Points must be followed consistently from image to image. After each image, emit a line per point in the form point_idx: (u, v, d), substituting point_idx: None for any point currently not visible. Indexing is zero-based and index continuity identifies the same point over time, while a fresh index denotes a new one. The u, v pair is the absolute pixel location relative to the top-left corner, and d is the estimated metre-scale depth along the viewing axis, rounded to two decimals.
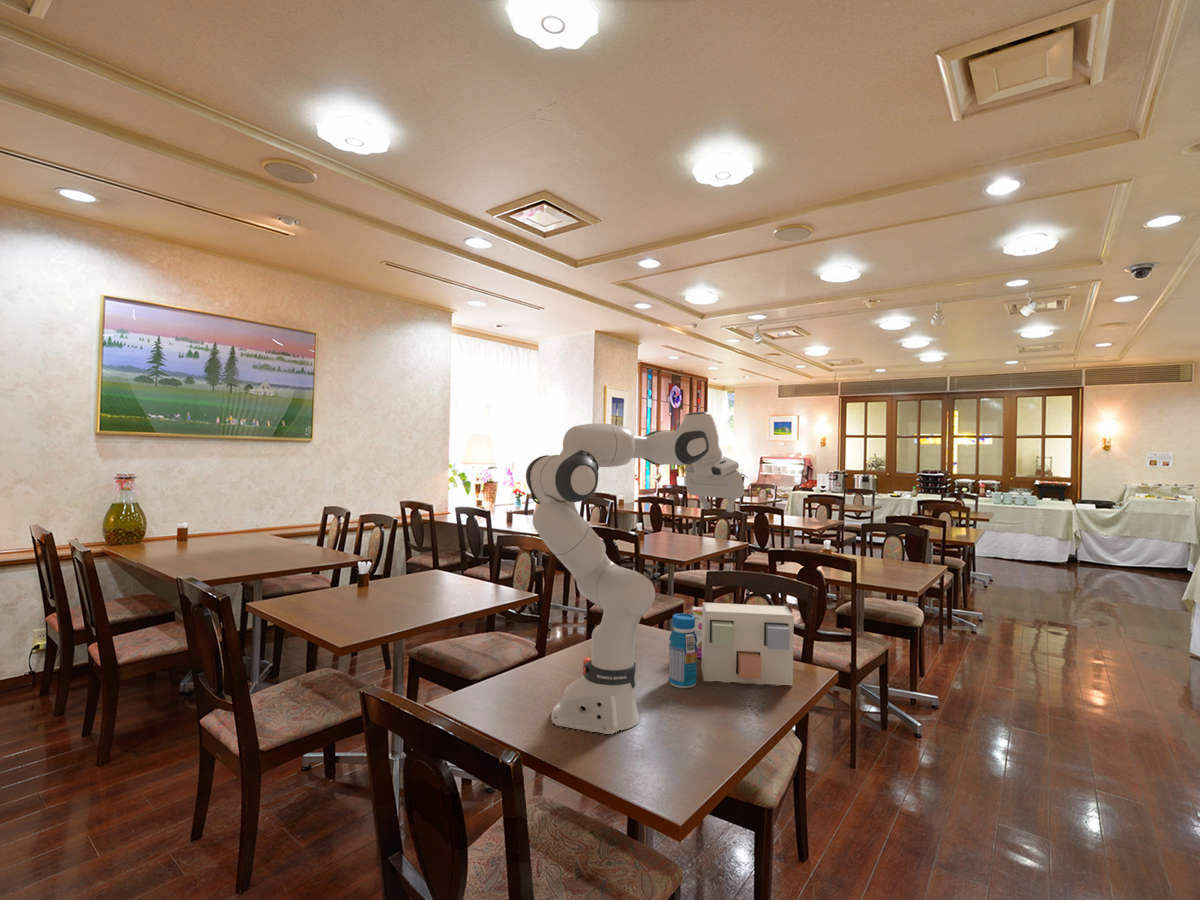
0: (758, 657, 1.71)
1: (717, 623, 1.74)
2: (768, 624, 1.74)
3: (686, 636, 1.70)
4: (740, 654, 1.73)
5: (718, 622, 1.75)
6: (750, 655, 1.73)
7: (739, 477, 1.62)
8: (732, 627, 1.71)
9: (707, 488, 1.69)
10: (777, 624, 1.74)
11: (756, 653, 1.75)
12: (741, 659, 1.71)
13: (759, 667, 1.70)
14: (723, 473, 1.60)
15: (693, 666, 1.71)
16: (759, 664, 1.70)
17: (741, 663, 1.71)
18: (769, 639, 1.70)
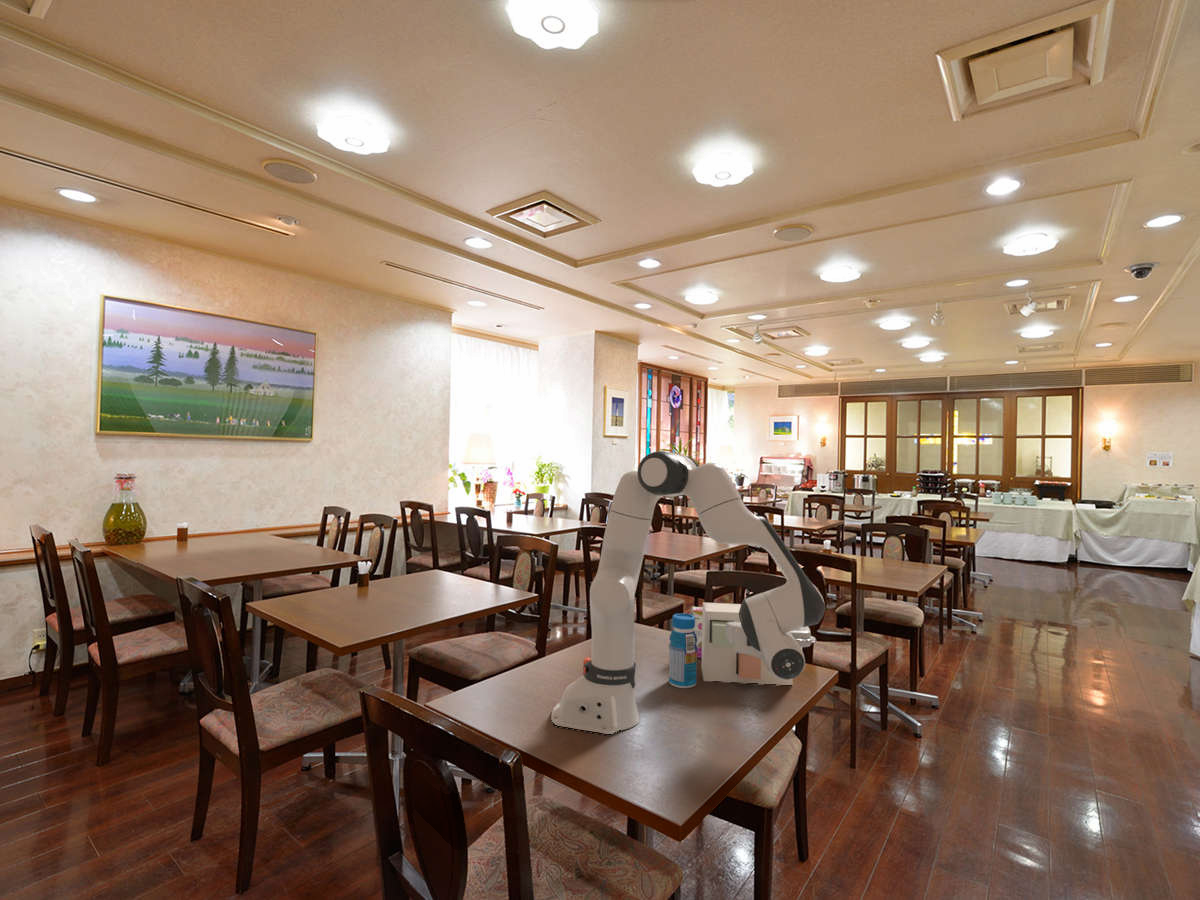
0: None
1: (717, 623, 1.74)
2: None
3: (686, 636, 1.70)
4: (740, 654, 1.73)
5: (718, 622, 1.75)
6: (750, 655, 1.73)
7: (730, 640, 1.43)
8: None
9: None
10: None
11: None
12: (741, 659, 1.71)
13: (759, 667, 1.70)
14: (737, 625, 1.40)
15: (693, 666, 1.71)
16: (759, 664, 1.70)
17: (741, 663, 1.71)
18: None
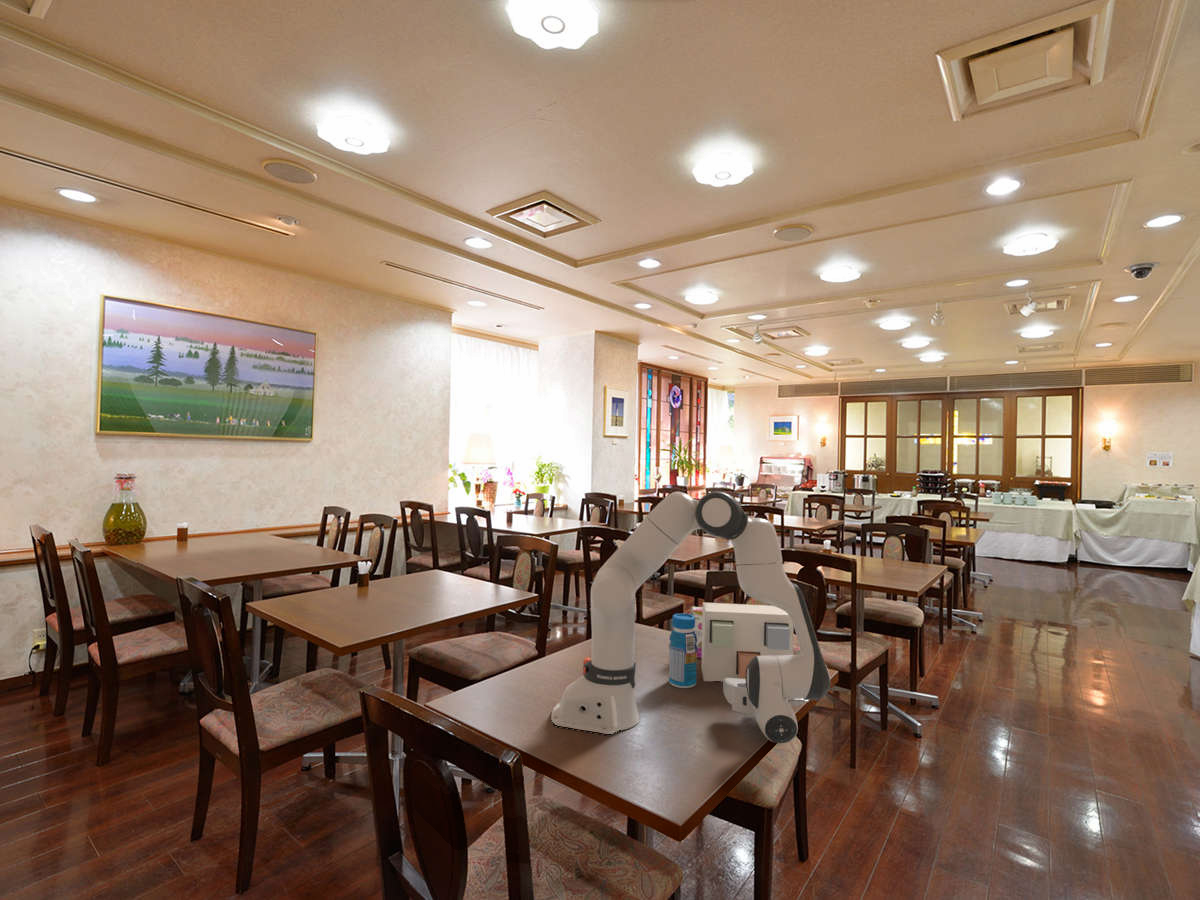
0: None
1: (717, 623, 1.74)
2: (768, 624, 1.74)
3: (686, 636, 1.70)
4: (740, 654, 1.73)
5: (718, 622, 1.75)
6: (750, 655, 1.73)
7: (727, 697, 1.49)
8: (732, 627, 1.71)
9: None
10: (777, 624, 1.74)
11: (756, 653, 1.75)
12: (741, 659, 1.71)
13: None
14: (733, 684, 1.46)
15: (693, 666, 1.71)
16: None
17: (741, 663, 1.71)
18: (769, 639, 1.70)
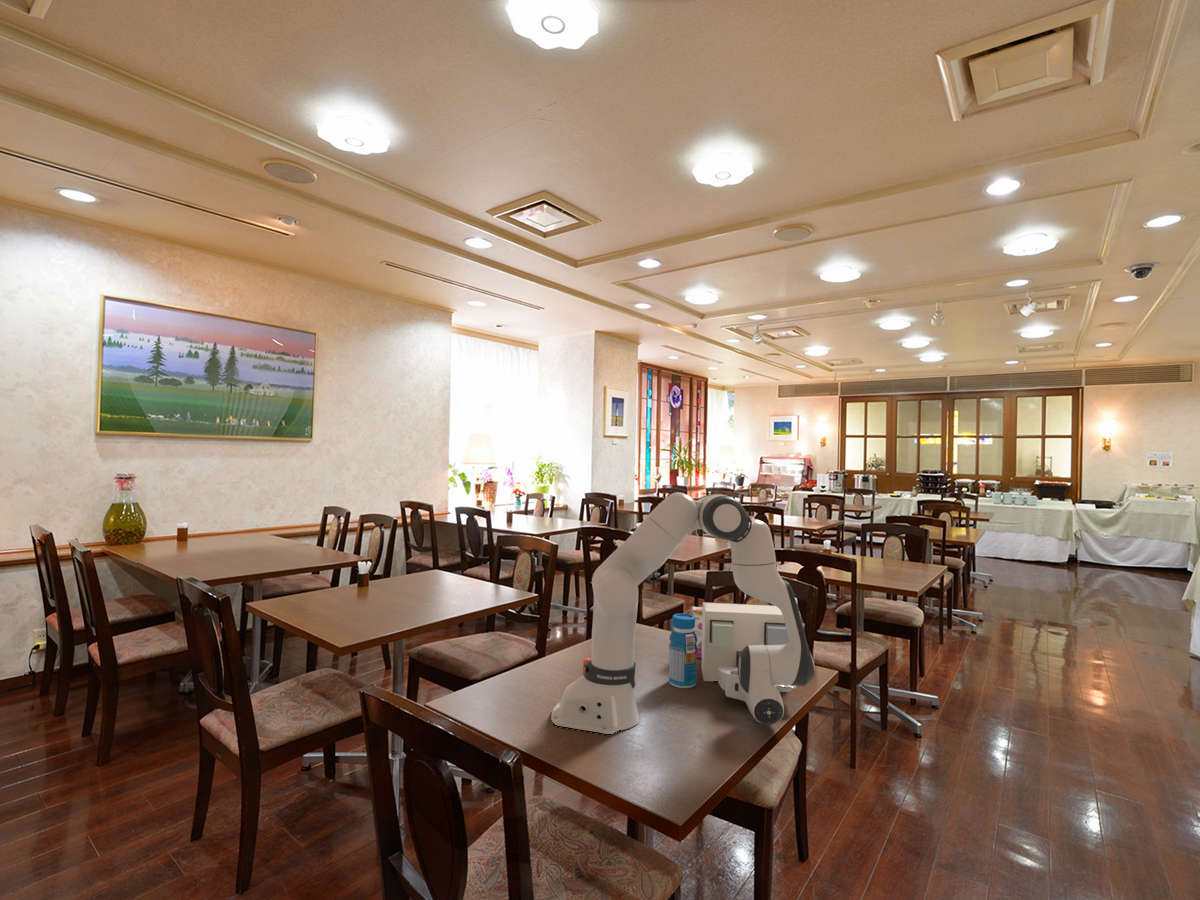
0: None
1: (717, 623, 1.74)
2: (768, 624, 1.74)
3: (686, 636, 1.70)
4: None
5: (718, 622, 1.75)
6: None
7: (720, 684, 1.62)
8: (732, 627, 1.71)
9: None
10: (777, 624, 1.74)
11: None
12: None
13: None
14: (726, 672, 1.59)
15: (693, 666, 1.71)
16: None
17: None
18: (769, 639, 1.70)
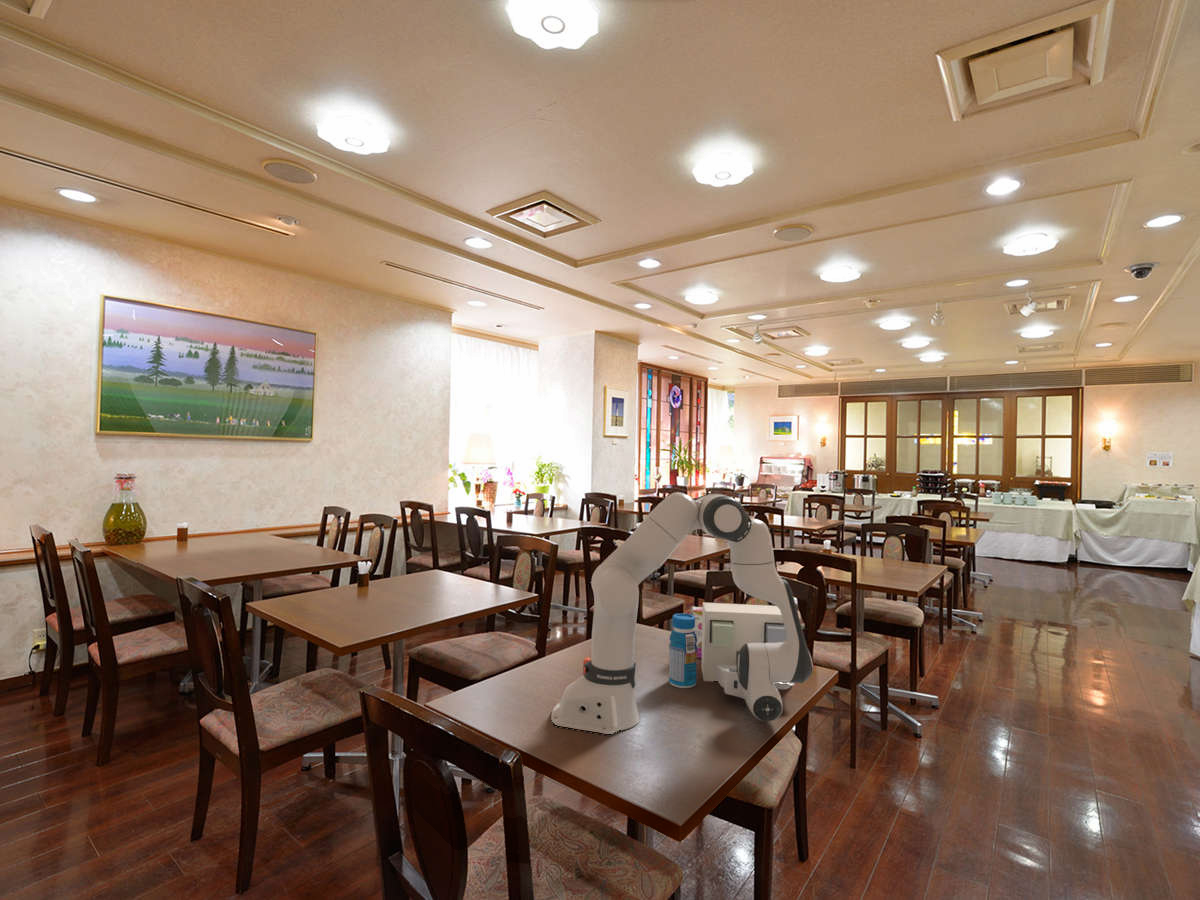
0: None
1: (717, 623, 1.74)
2: (768, 624, 1.74)
3: (686, 636, 1.70)
4: None
5: (718, 622, 1.75)
6: None
7: (719, 681, 1.63)
8: (732, 627, 1.71)
9: None
10: (777, 624, 1.74)
11: None
12: None
13: None
14: (725, 669, 1.60)
15: (693, 666, 1.71)
16: None
17: None
18: (769, 639, 1.70)
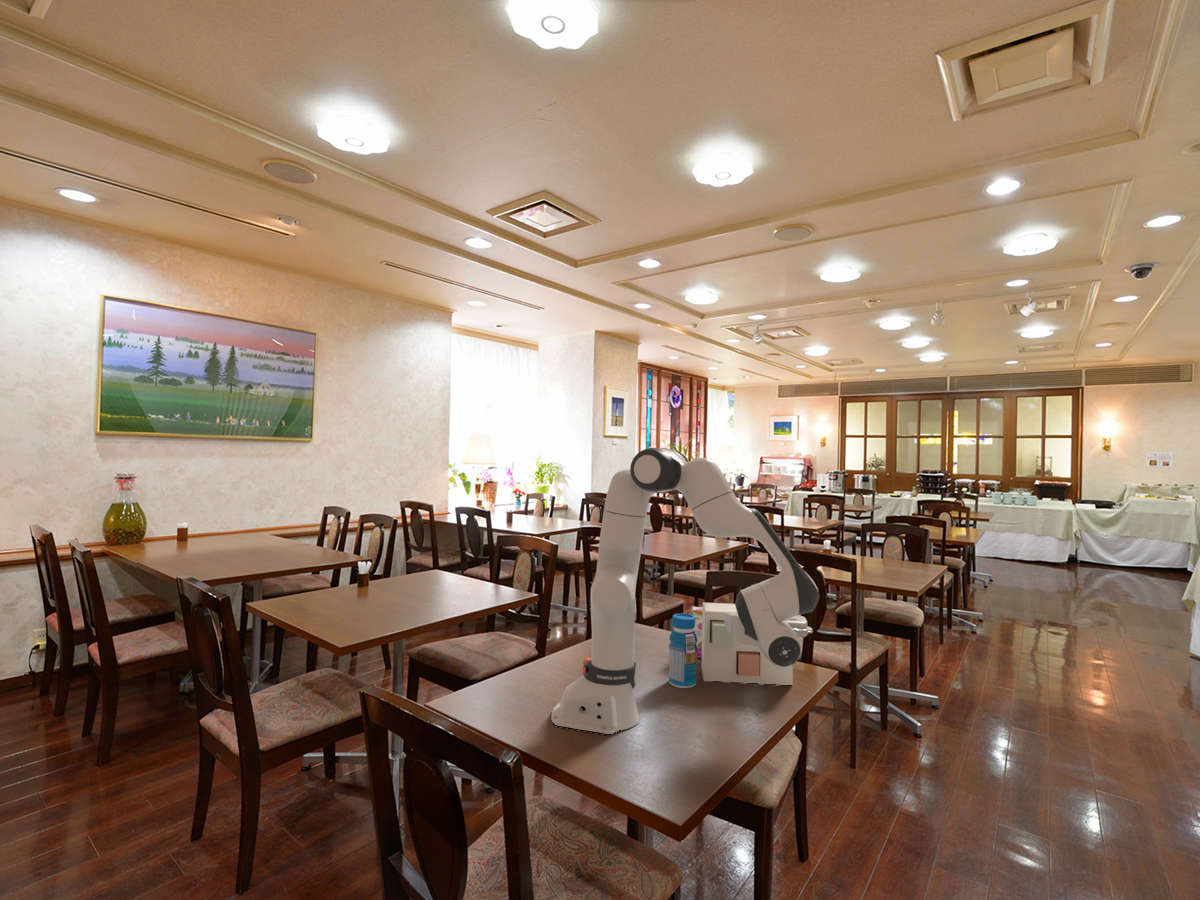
0: (757, 654, 1.73)
1: (717, 623, 1.74)
2: None
3: (686, 636, 1.70)
4: (739, 651, 1.76)
5: (718, 622, 1.75)
6: (749, 652, 1.75)
7: (728, 629, 1.46)
8: None
9: None
10: None
11: None
12: (740, 656, 1.73)
13: (758, 664, 1.73)
14: (735, 614, 1.43)
15: (693, 666, 1.71)
16: (758, 661, 1.73)
17: (740, 660, 1.73)
18: None
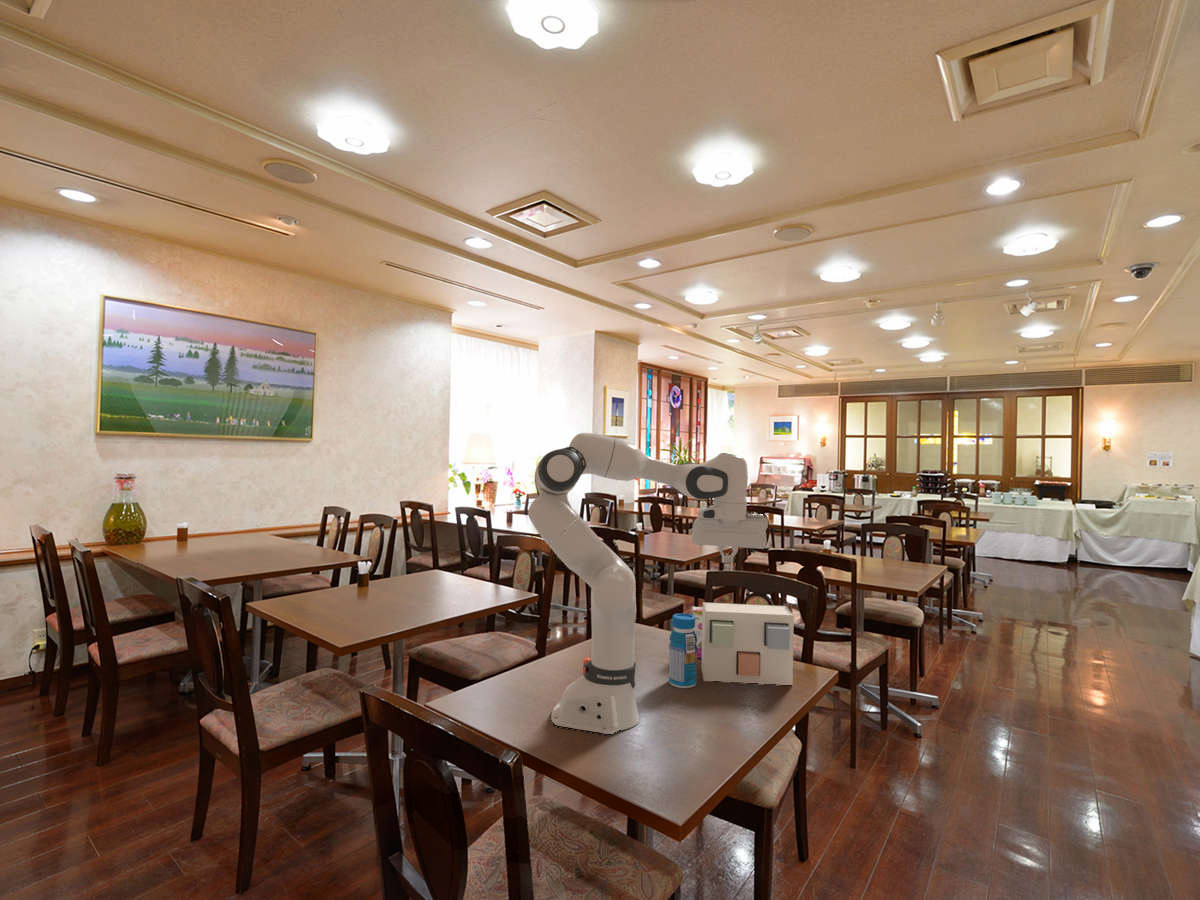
0: (757, 654, 1.73)
1: (717, 623, 1.74)
2: (768, 624, 1.74)
3: (686, 636, 1.70)
4: (739, 651, 1.76)
5: (718, 622, 1.75)
6: (749, 652, 1.75)
7: (694, 525, 1.60)
8: (732, 627, 1.71)
9: None
10: (777, 624, 1.74)
11: None
12: (740, 656, 1.73)
13: (758, 664, 1.73)
14: None
15: (693, 666, 1.71)
16: (758, 661, 1.73)
17: (740, 660, 1.73)
18: (769, 639, 1.70)
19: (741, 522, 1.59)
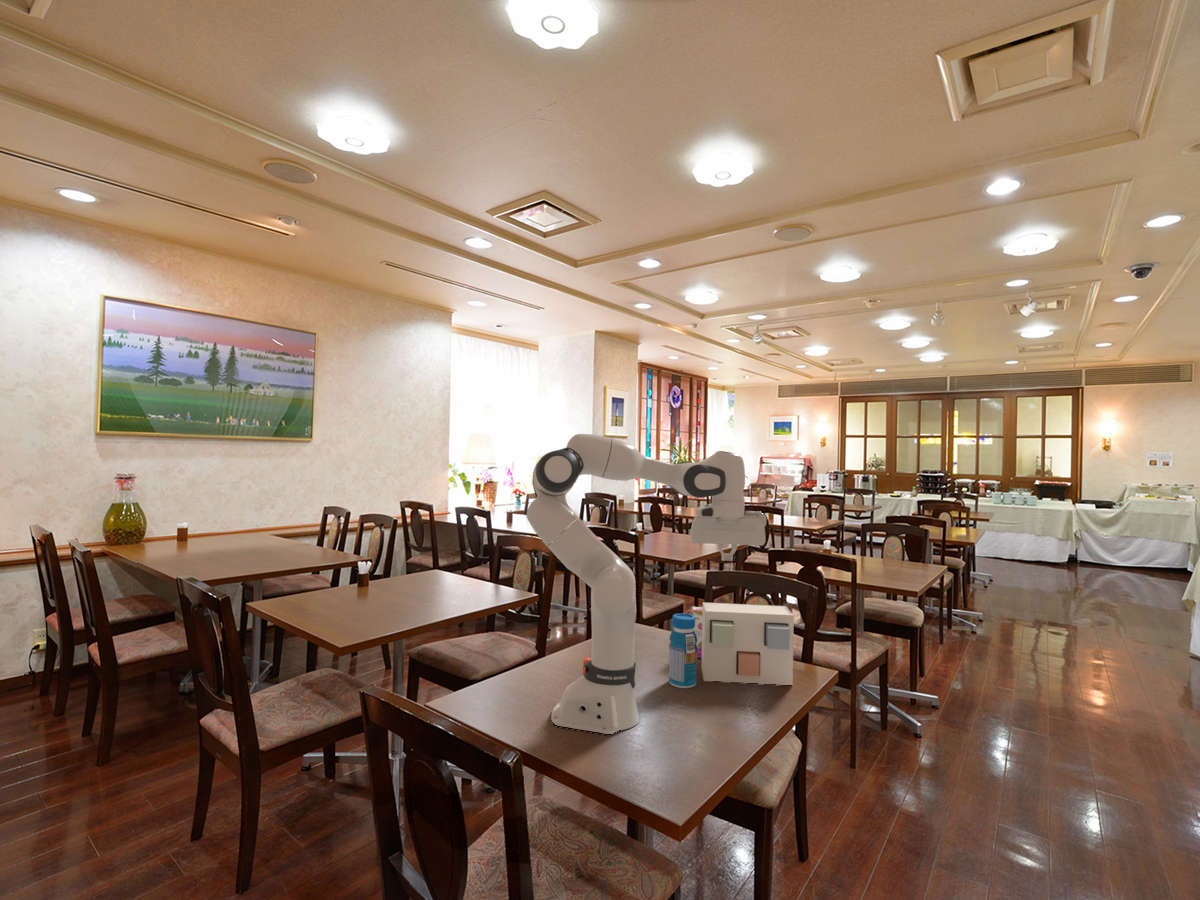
0: (757, 654, 1.73)
1: (717, 623, 1.74)
2: (768, 624, 1.74)
3: (686, 636, 1.70)
4: (739, 651, 1.76)
5: (718, 622, 1.75)
6: (749, 652, 1.75)
7: (693, 523, 1.60)
8: (732, 627, 1.71)
9: None
10: (777, 624, 1.74)
11: None
12: (740, 656, 1.73)
13: (758, 664, 1.73)
14: None
15: (693, 666, 1.71)
16: (758, 661, 1.73)
17: (740, 660, 1.73)
18: (769, 639, 1.70)
19: (739, 519, 1.59)
